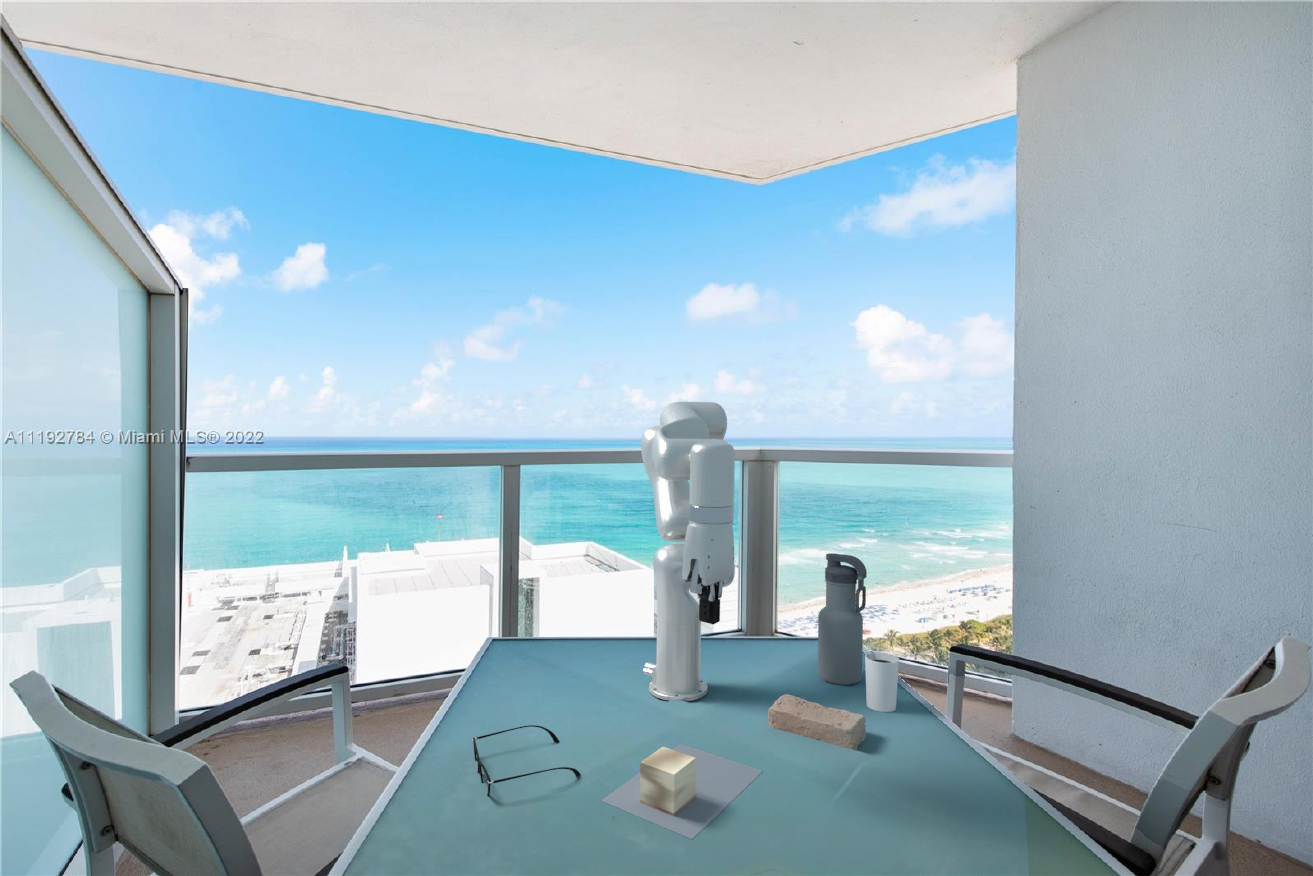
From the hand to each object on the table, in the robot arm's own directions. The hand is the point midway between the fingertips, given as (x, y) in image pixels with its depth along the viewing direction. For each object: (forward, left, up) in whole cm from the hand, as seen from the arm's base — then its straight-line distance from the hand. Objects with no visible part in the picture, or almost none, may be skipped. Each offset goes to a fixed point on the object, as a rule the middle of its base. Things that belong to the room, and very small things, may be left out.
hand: (709, 621), depth 112 cm
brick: (+12, +20, -24) cm, 34 cm away
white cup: (+18, +39, -24) cm, 49 cm away
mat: (+2, -10, -24) cm, 26 cm away
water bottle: (+6, +50, -24) cm, 55 cm away
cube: (+2, -15, -17) cm, 23 cm away
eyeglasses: (-23, -20, -24) cm, 39 cm away
